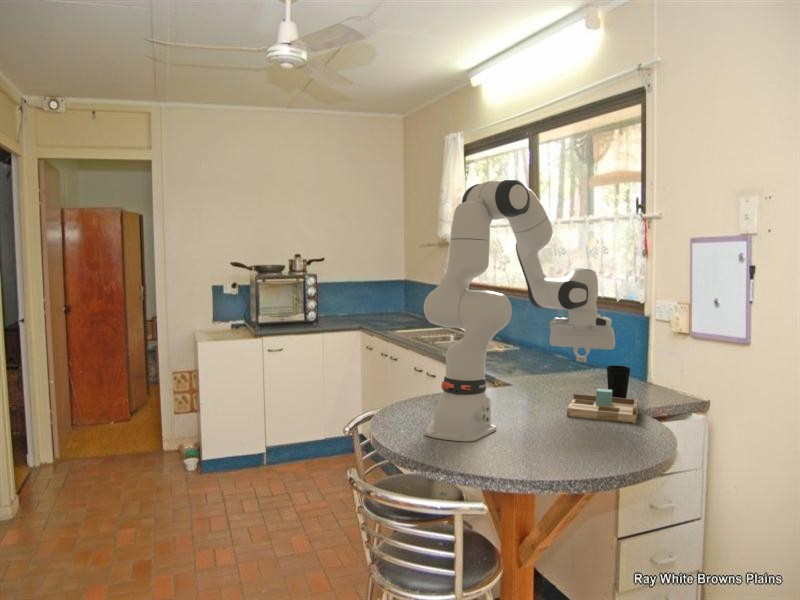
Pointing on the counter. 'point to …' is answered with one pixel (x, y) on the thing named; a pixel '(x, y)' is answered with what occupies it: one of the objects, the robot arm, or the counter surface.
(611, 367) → the cup
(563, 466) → the counter surface
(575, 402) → the wooden tray
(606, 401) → the block
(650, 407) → the counter surface
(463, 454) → the counter surface
